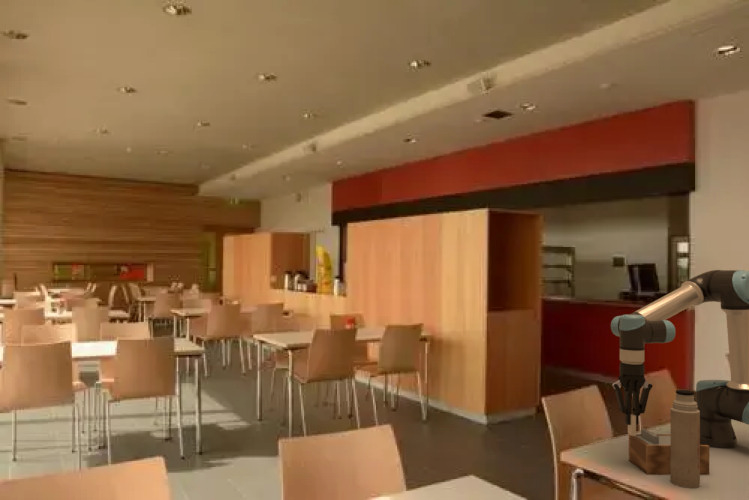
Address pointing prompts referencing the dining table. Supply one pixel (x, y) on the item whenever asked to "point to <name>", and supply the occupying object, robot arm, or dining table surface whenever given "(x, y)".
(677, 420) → the thermos bottle
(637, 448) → the walnut box
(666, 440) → the slate lid
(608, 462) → the dining table surface
